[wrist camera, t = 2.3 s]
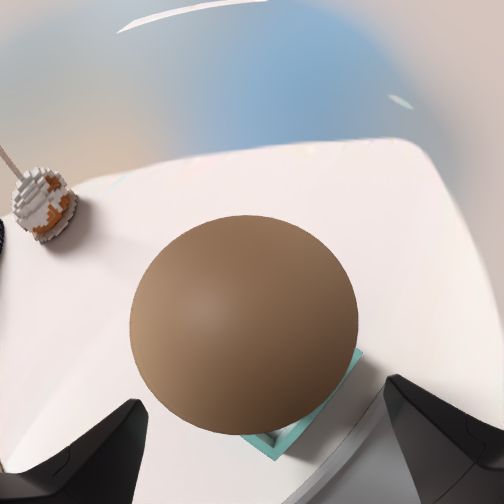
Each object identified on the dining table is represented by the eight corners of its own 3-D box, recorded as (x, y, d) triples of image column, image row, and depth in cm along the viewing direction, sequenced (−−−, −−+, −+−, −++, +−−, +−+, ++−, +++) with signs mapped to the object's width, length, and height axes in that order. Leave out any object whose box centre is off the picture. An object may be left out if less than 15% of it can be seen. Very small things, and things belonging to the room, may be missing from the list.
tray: (372, 564, 7) (378, 573, 6) (262, 519, 12) (260, 530, 10) (475, 440, 12) (489, 441, 10) (385, 382, 16) (396, 380, 15)
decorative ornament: (87, 209, 28) (18, 114, 15) (44, 255, 25) (-37, 175, 12) (68, 186, 31) (14, 106, 17) (32, 225, 28) (-31, 154, 15)
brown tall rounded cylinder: (271, 413, 16) (252, 480, 3) (224, 375, 18) (95, 322, 5) (311, 365, 18) (397, 291, 5) (263, 330, 19) (230, 186, 6)
